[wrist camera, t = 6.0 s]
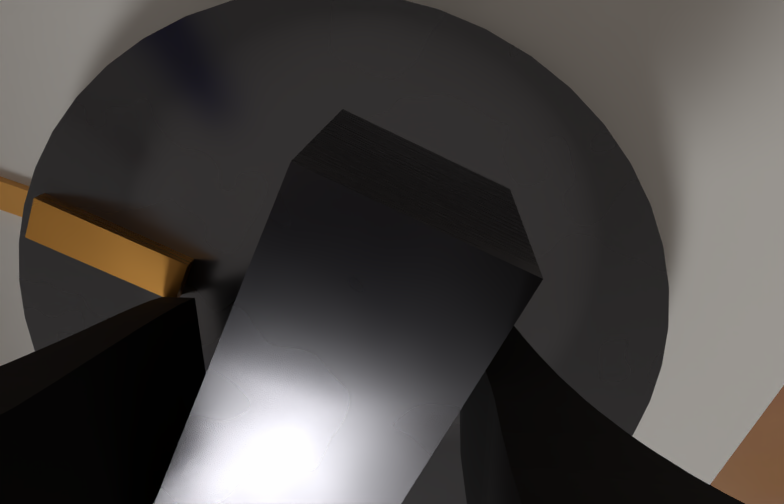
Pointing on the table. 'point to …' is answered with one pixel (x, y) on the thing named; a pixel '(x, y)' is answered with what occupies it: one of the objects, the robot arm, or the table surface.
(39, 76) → the dial panel
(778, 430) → the table surface
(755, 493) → the table surface
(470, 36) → the dial
